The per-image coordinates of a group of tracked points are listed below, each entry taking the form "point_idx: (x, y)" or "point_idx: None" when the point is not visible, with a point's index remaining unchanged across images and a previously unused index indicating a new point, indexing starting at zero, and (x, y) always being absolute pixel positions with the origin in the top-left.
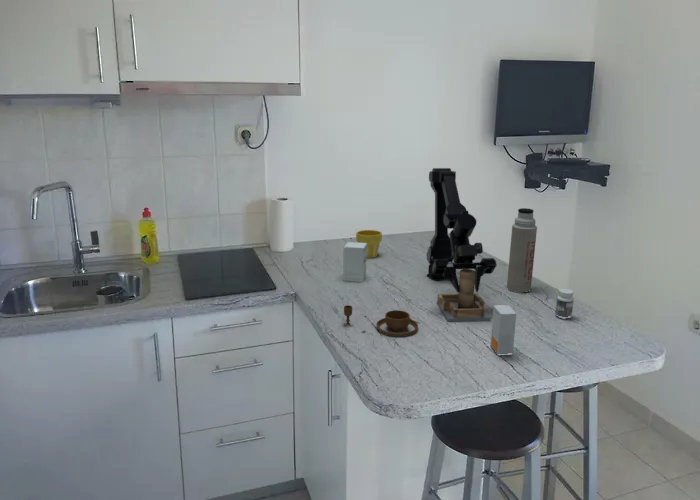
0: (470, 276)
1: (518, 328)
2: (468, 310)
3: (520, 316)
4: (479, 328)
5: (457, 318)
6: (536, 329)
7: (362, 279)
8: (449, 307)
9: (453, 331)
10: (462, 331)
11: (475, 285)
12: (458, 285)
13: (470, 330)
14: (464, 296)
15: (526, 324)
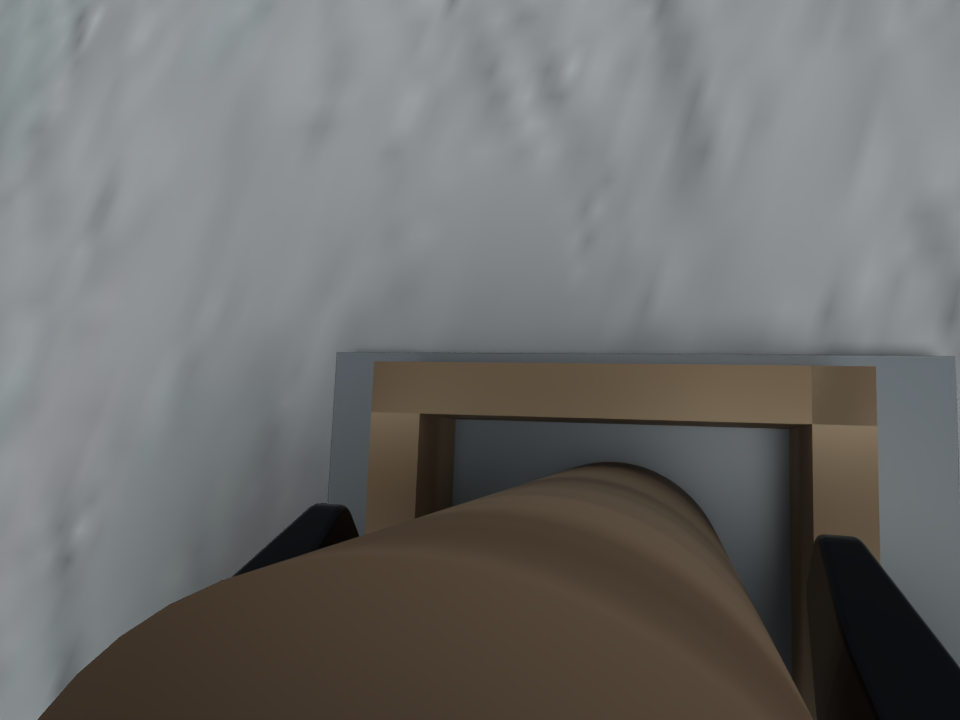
0: (398, 536)
1: (155, 149)
2: (620, 365)
3: (10, 457)
4: (554, 147)
5: (793, 355)
6: (15, 127)
7: None
8: None
9: (923, 52)
10: (796, 57)
11: None
12: (874, 657)
13: (683, 89)
14: (665, 498)
15: (45, 246)
